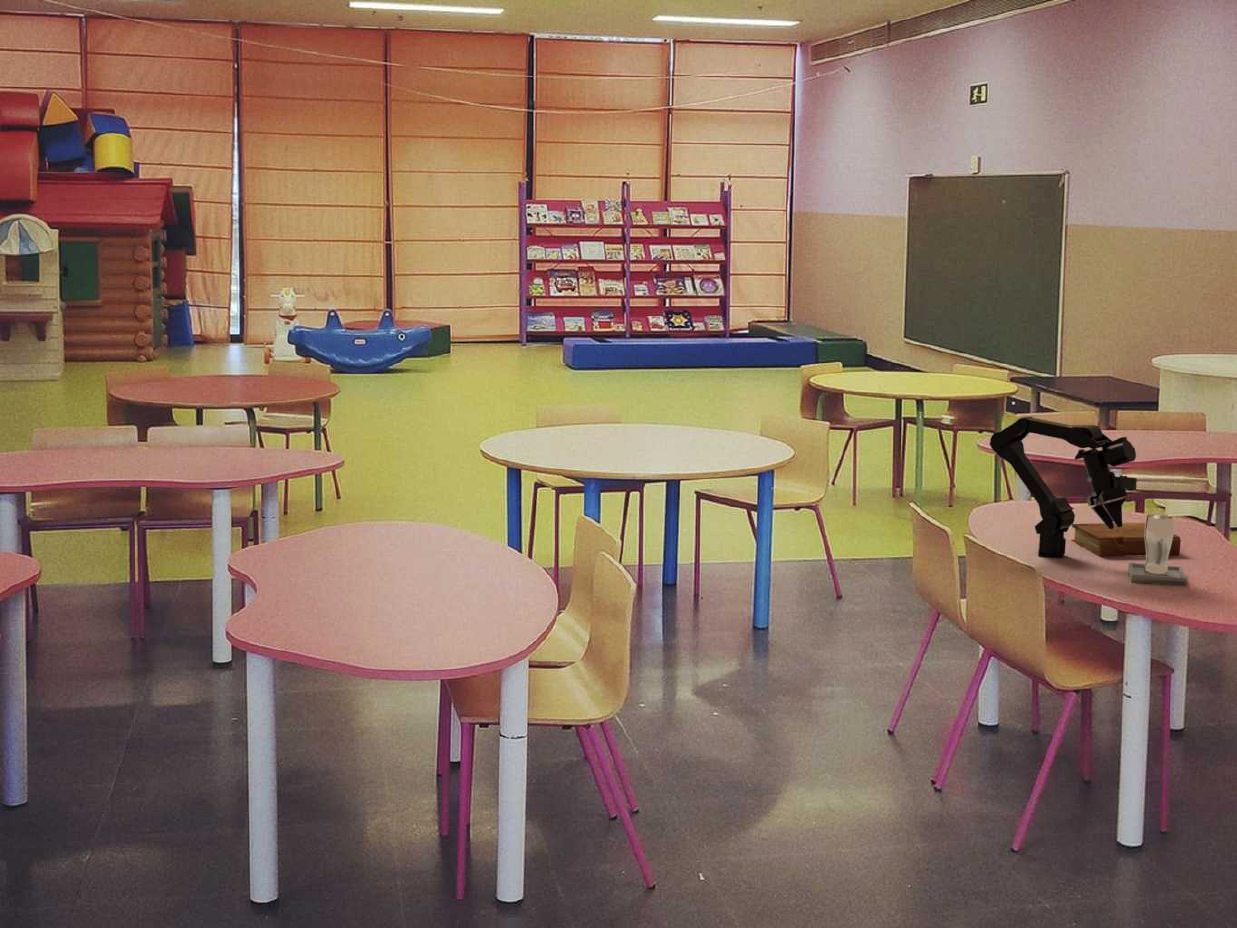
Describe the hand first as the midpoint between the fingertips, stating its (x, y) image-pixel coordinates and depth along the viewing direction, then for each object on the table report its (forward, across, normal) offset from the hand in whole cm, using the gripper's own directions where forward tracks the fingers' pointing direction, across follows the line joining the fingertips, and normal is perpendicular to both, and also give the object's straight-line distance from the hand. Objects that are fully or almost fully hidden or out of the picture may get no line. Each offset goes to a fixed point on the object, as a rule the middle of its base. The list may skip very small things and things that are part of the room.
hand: (1116, 527), depth 367 cm
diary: (+7, +26, -6) cm, 27 cm away
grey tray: (+15, -7, -4) cm, 17 cm away
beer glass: (+14, -7, -4) cm, 16 cm away
